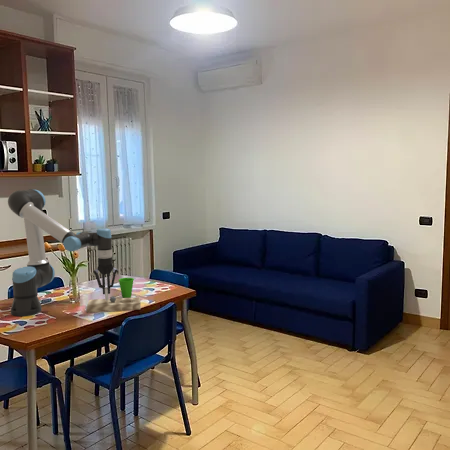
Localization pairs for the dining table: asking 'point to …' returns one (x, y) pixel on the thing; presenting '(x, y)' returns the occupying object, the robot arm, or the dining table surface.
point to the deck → (114, 304)
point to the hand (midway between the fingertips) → (106, 299)
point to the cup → (126, 287)
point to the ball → (112, 299)
